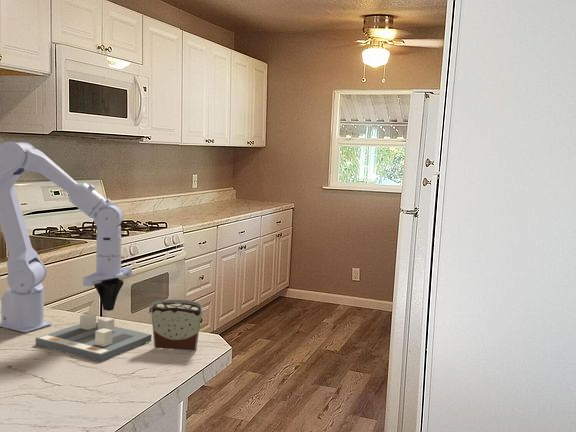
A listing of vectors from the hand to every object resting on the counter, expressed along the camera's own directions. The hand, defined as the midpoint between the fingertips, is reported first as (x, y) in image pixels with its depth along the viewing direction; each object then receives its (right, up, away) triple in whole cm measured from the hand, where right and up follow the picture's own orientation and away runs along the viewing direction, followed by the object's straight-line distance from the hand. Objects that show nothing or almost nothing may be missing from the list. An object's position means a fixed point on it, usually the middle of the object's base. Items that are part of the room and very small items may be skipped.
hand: (108, 309), depth 144 cm
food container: (+19, -7, -10) cm, 22 cm away
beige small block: (-3, -3, -6) cm, 7 cm away
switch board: (0, -6, -11) cm, 12 cm away
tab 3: (+4, -5, -16) cm, 17 cm away
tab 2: (+2, -4, -8) cm, 9 cm away
